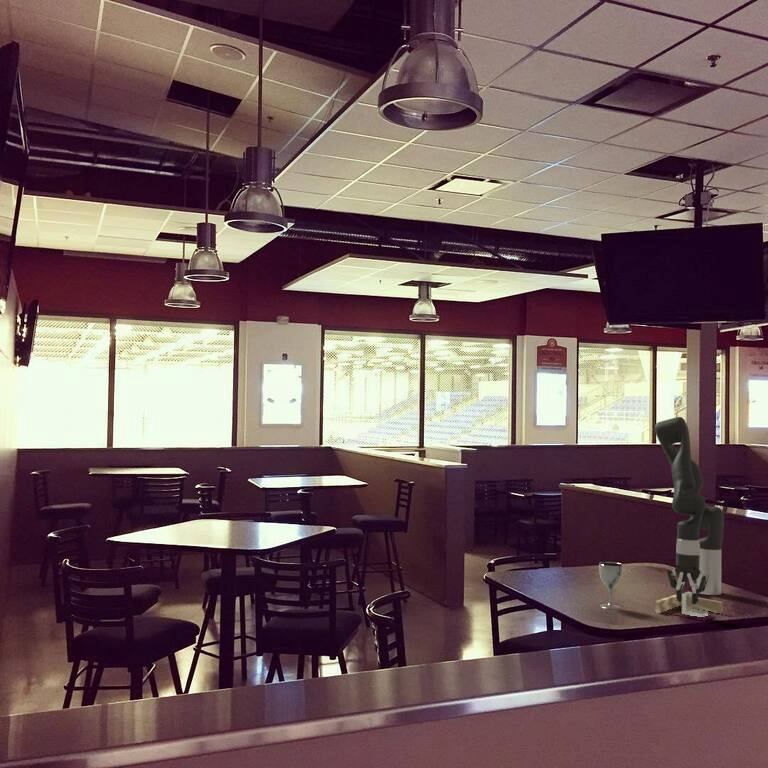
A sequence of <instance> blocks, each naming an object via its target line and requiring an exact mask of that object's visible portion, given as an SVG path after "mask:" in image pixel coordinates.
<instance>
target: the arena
mask: <svg viewBox="0 0 768 768" xmlns="http://www.w3.org/2000/svg"><path fill="white" fill-rule="evenodd" d="M676 596H677V593H676V594H673V595H670V596H667V597H664V598H661V599H658V600H655V611H654V612H656V613H655V614H659V613H660V614H662V613H661V612H663V613H665V612H664V611H666V612H668V611H667V610H669V609H671V610H673V609H672V608H674V609H676V608H675V607H677V608H679V607H678V606H680V607H681V606H682V601H681V602H679V601H678V599H677V598H676ZM723 606H724V603H723V601H718V600H714V599H709V598H704V597H700V596H698V602H697V603H696V604H695V605H694V604H692V608H693V609H699V610H705V611H711V612H714V613H713V614H716V613H720V614H719V615H722V614H721V613H724V612H723V609H724V607H723ZM669 611H670V610H669ZM711 612H710V613H711Z"/></svg>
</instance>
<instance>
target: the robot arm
mask: <svg viewBox="0 0 768 768" xmlns="http://www.w3.org/2000/svg"><path fill="white" fill-rule="evenodd" d="M654 431H655V434H656V437H657V440H658V442H659V445H660V446H661V447H662V450H663V452H664V454H665V455H666V457H667V459H668V461H669V464H670V467H671V478H672V482H673V497H672V504H671V506H672V510H673V511H674V512H675V513H676V514H678V515H689V519H687V520H681V521H679V522H678V523H677V527H676V529H677V530H676V533H677V536H676V546H675V547H676V549H675V550H676V553H675V554H676V555H675V558H676V559H675V565H676V566H675V568H674V569H673V568H671V569H668V570H667V571H666V572H667V576H668V580H669V584H670V587H671V588H672V589H675V590H676V594H677V596H676V598H677V599H678V601H679V602H681V601H682V593H684V590H683V588H684V585H685V583H688V584H689V585H690V587H691V592H692V604H694V605H695V604H696V603H697V602H698V597H699V594H701V595H708V596H718V595H719V596H720V595H722V548H723V547H722V545H723V541H724V529H725V527H724V525H725V514H724V512H723V510H722V508H720V507H717V506H709V505H708V506H707V505H706V501H705V498H704V496H703V495H701V491H702V488H703V486H704V477H703V475H702V472H701V469H700V466H699V465H698V464H697V463H696V462H695V461H694V460H693V459H692V457H691V455H692V453H691V450H692V449H691V439H690V430H689V427H688V424H687V422H686V420H685V418H683V417H682V416H677V417H676V416H675V417H673V418H668V419H665V420H661V421H658V422H656V424H654ZM675 444H680V445H679V449H677V448H675V446H674V445H675ZM700 530H703V531H708V534H707V536H705V537H701V538H700ZM676 576H677V577H678V579H676Z"/></svg>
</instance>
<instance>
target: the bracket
mask: <svg viewBox="0 0 768 768" xmlns="http://www.w3.org/2000/svg"><path fill="white" fill-rule="evenodd" d="M692 593H693V591H686V592H683V593H682V607H681V612H682V614H685V615H690V616H697V617H705V616H708V614H709V612H708V611H703V610H698V609H693V608H692Z"/></svg>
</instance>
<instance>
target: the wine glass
mask: <svg viewBox="0 0 768 768" xmlns="http://www.w3.org/2000/svg"><path fill="white" fill-rule="evenodd" d="M623 569H624V567H623V564H622V563H619V562H614V561H600V562H599V565H598V571H599V572H598V573H599V577H600V580H601V581H602V583H603V585H605V587H606V588H607V590H608V597H609V598H608V603H607V604H606V603H605V604H604V603H603V604H600V605H599V607H600V608H603V609H605V610H620V609H621V608H622V607H621V606H619V605H615V604H613V603H612V599H613V597H612V595H613V590H615V588H616V586H617V585H619V584H620V582H621V580H622V577H623Z"/></svg>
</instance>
